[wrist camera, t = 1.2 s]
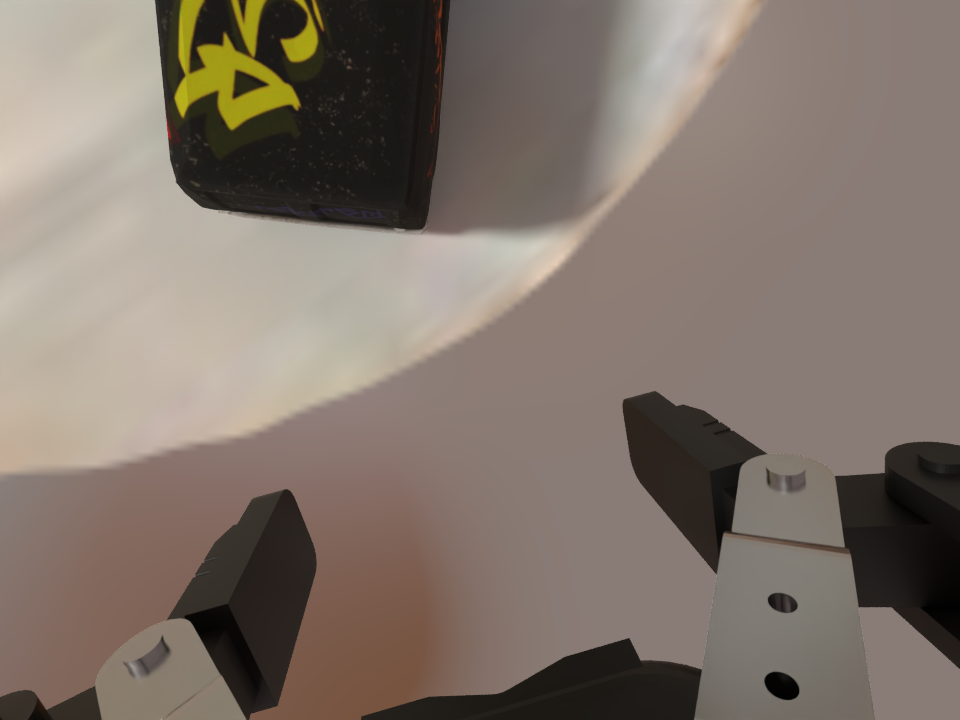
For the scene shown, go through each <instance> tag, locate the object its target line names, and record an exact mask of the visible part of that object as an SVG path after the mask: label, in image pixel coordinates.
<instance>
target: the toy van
mask: <svg viewBox="0 0 960 720" xmlns="http://www.w3.org/2000/svg"><path fill="white" fill-rule="evenodd" d="M155 4H156V14H157V25H158V35H159V46H160V56H161V67H162V77H163V88H164V98H165V109H166V119H167V130H168V140H169V151H170V160H171V164H172V167H173V171H174V174H175V177H176V183H177V184H178V185H179V186H180V188H181V189H182V190H183V191H184V192H185V194H187V195H188V196H189V197H190V198H191V199H193V200H194V201H195V202H196V203H197V204H199V205H200V206H202V207H204V208H209V209H214V210H218V211H219V213H227V214H230V215H235V216H240V217H246V218H255V219H263V220H272V221H281V222H290V223H299V224H308V225H316V226H325V227H336V228H347V229H358V230H369V231H380V232H391V233H403V234H422V233H423V232H424V230H425V229H426V228H427V222H428V221H427V216H428V211H429V203H430V195H431V187H432V179H433V176H434V172H435V166H436V160H437V150H438V139H439V126H440V109H441V96H442V86H443V76H444V65H445V54H446V43H447V31H448V20H449V9H450V0H155Z"/></svg>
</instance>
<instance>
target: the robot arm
mask: <svg viewBox="0 0 960 720" xmlns="http://www.w3.org/2000/svg"><path fill="white" fill-rule="evenodd" d="M623 414H624V421H625V427H626V433H627V440H628V446H629V453H630V458H631V463H632V466H633V469H634V471H635V474H636V476H637V478H638V480H639V481H640V483H641V484H642V486H644V488H645V489H646V490H647V492H648V493H649V494H650V495H651V496H652V497H653V499H654V500H655V501H656V502H657V504H658V505H659V506H660V507H661V508H662V509H663V511H664V512H665V513H666V514H667V516H668V517H669V518H670V519H671V520H672V522H673V523H674V524H675V525H676V526H677V528H678V529H679V530H680V531H681V532H682V533H683V535H684V536H685V537H686V538H687V540H688V541H689V542H690V543H691V544H692V546H693V547H694V548H695V549H696V550H697V552H698V553H699V554H700V555H701V556H702V558H703V559H704V560H705V561H706V562H707V564H708V565H709V566H710V567H711V568H712V569H713V571H714V572H715V573H716V574H717V577H716V583H715V591H714V596H713V603H712V609H711V616H710V622H709V629H708V635H707V641H706V648H705V654H704V660H703V667H702V670H701V669H698V668H695V667H691V666H688V665H683V664H678V663H673V662H665V661H652V660H649V661H648V660H647V661H646V660H644V661H640V659H639V657H638V655H637V653H636V651H635V649H634V647H633V645H632V643H631V641H630V639H629V638H628V639H625V640H621V641H618V642H614V643H611V644H608V645H604V646H601V647H597V648H594V649H590V650H587V651H584V652H580V653H577V654H574V655H570V656H566V657H564V658H562V659H561V660H559V661H557V662H555V663H554V664H552V665H550V666H548V667H547V668H545V669H543V670H541V671H540V672H538V673H536V674H535V675H533V676H531V677H529V678H528V679H526V680H524V681H523V682H521V683H519V684H517V685H515V686H514V687H512V688H510V689H508V690H507V691H505V692H502V693H499V694H493V695H465V696H439V697H427V698H423V699H420V700H416V701H413V702H409V703H406V704H403V705H399V706H396V707H392V708H389V709H386V710H382V711H379V712H375V713H372V714H368V715H365V716H362V718H361V720H875V715H874V708H873V701H872V694H871V688H870V681H869V674H868V667H867V660H866V654H865V647H864V641H863V634H862V627H861V620H860V613H859V607H892V608H893V609H894V610H895V611H896V612H898V614H899V615H901V616H902V617H903V618H904V619H905V620H906V621H907V622H909V624H911V625H912V626H913V627H914V628H915V629H916V630H917V631H918V632H919V633H921V634H922V635H923V636H924V637H925V638H926V639H927V640H928V641H930V642H931V643H932V644H933V645H934V646H935V647H936V648H937V649H938V650H940V651H941V652H942V653H943V654H944V655H945V656H946V657H947V658H948V659H949V660H951V661H952V662H953V663H954V664H955V665H956V666H957V667H958V668H960V446H959V445H953V444H948V443H939V442H913V443H906V444H902V445H899V446H896V447H894V448H892V449H891V450H889V451H888V452H887V454H886V456H885V473H880V474H866V475H850V476H834V474H833V472H832V471H831V470H830V469H829V468H828V467H827V466H825V465H824V464H822V463H821V462H819V461H816V460H814V459H811V458H808V457H804V456H801V455H795V454H786V453H784V454H783V453H777V454H776V453H774V454H767V453H765V452H764V451H762V450H761V449H759V448H758V447H756V446H755V445H754V444H752V443H750V442H749V441H747V440H746V439H745V438H743V437H742V436H740V435H739V434H737V433H736V432H734V431H731V430H730V428H729V427H727V426H725V425H724V424H723V423H721V422H720V423H719V422H718V420H717V419H715V418H714V417H712V416H711V415H710V414H708V413H707V412H705V411H703V410H700V409H697V408H693V407H690V406H686V405H680V406H675V405H674V404H673V403H671V402H670V401H669V400H667V399H666V398H665V397H663V396H662V395H660V394H659V393H657V392H656V391H653V392H650V393H646V394H642V395H638V396H635V397H631V398H627V399H624V401H623ZM204 561H205V563H202V564H201V566H200V567H199V569H198V571H197V572H196V577H194V578H193V579H192V580H191V582H190V584H189V585H188V587H187V589H186V590H185V592H184V593H183V595H182V597H181V598H180V600H179V601H178V603H177V605H176V606H175V608H174V609H173V611H172V612H171V614H170V616H169V617H168V619H167V621H164V622H161V623H158V624H156V625H154V626H152V627H150V628H147V629H146V630H144V631H142V632H141V633H139V634H137V635H136V636H134V637H133V638H132V639H130V640H129V641H127V642H126V643H125V644H124V645H122V646H121V647H120V648H119V649H118V650H117V651H116V652H115V653H114V654H113V655H112V656H111V657H110V658H109V659H108V660H107V662H106V663H105V664H104V666H103V667H102V669H101V670H100V672H99V674H98V676H97V678H96V683H95V686H94V687H92V688H90V689H88V690H86V691H84V692H82V693H80V694H78V695H76V696H74V697H72V698H70V699H68V700H66V701H64V702H62V703H60V704H58V705H56V706H54V707H52V708H50V709H48V710H46V709H45V707H44V706H43V704H42V703H41V701H40V700H39V698H38V697H37V695H36V694H35V693H34V692H32V691H28V690H23V691H17V692H13V693H10V694H7V695H5V696H2V697H0V720H249V718H250V715H251V713H255V712H258V711H262V710H265V709H269V708H272V707H276V706H277V705H278V702H279V698H280V695H281V692H282V688H283V685H284V681H285V678H286V674H287V671H288V667H289V664H290V660H291V657H292V654H293V650H294V647H295V643H296V640H297V636H298V632H299V629H300V625H301V622H302V619H303V615H304V612H305V607H306V604H307V601H308V598H309V594H310V591H311V587H312V584H313V580H314V577H315V572H316V553H315V549H314V545H313V543H312V540H311V537H310V535H309V532H308V530H307V528H306V525H305V522H304V520H303V517H302V515H301V512H300V510H299V508H298V505H297V502H296V500H295V498H294V496H293V494H292V493H291V492H290V491H289V490H287V489H285V490H282V491H278V492H274V493H270V494H266V495H263V496H259V497H256V498H253V499H252V500H251V502H250V503H249V505H248V507H247V509H246V510H245V512H244V514H243V515H242V517H241V519H240V521H239V522H238V524H237V525H233V526H232V527H231V528H230V529H229V530H228V531H227V532H226V533H225V534H224V535H222V536H221V537H220V538H219V539H218V540H217V541H216V542H215V543H214V545H213V547H212V548H211V550H210V551H209V553H208V554H207V556H206V558H205V560H204Z"/></svg>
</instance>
